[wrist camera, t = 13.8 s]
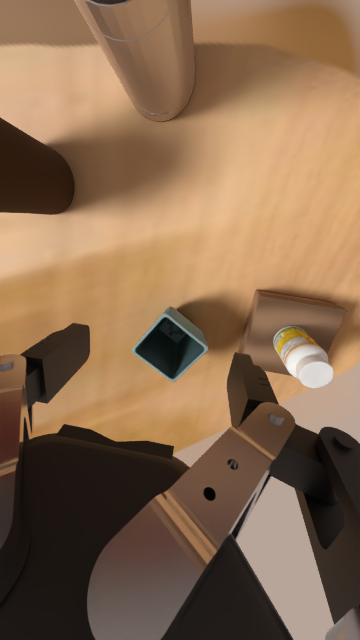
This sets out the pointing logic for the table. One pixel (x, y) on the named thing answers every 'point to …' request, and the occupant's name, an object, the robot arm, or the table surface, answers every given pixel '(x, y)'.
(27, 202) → the olive oil
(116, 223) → the table surface
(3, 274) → the table surface
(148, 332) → the flower pot
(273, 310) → the walnut plinth
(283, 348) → the supplement bottle
